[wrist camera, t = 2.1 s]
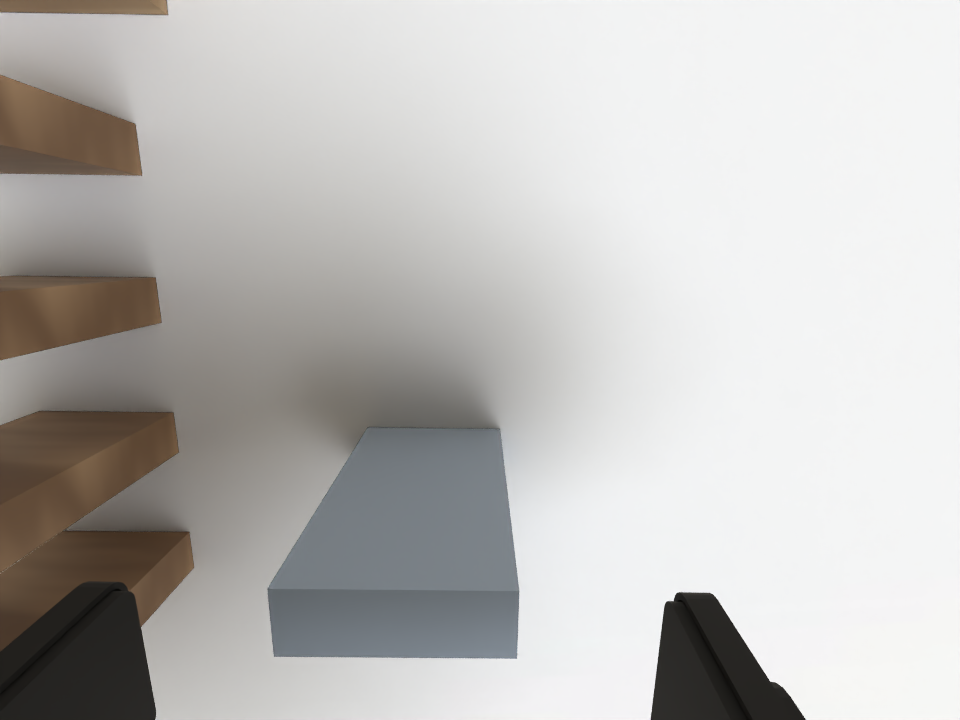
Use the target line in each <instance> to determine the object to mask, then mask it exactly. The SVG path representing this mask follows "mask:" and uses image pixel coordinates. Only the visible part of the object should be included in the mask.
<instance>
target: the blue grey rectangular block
mask: <svg viewBox="0 0 960 720" xmlns="http://www.w3.org/2000/svg"><path fill="white" fill-rule="evenodd" d="M267 590H268V600H269V610H270V621H271V631H272V642H273V652H274V657H391V658H510V659H517V640H518V611H519V585H518V577H517V568H516V560H515V552H514V543H513V535H512V526H511V518H510V509H509V501H508V493H507V484H506V476H505V467H504V459H503V451H502V442H501V434H500V429H470V428H380V427H368V428H367V429H366V431H365V433H364V434H363V436H362V437H361V439H360V441H359V442H358V444H357V445H356V447H355V449H354V450H353V452H352V454H351V455H350V457H349V458H348V460H347V462H346V463H345V465H344V466H343V468H342V470H341V471H340V473H339V474H338V476H337V478H336V479H335V481H334V482H333V484H332V486H331V487H330V489H329V491H328V492H327V494H326V495H325V497H324V499H323V500H322V502H321V503H320V505H319V507H318V508H317V510H316V511H315V513H314V515H313V516H312V518H311V519H310V521H309V523H308V524H307V526H306V527H305V529H304V531H303V532H302V534H301V536H300V537H299V539H298V540H297V542H296V544H295V545H294V547H293V548H292V550H291V552H290V553H289V555H288V556H287V558H286V560H285V561H284V563H283V564H282V566H281V568H280V569H279V571H278V573H277V574H276V576H275V577H274V579H273V581H272V582H271V584H270V585H269V587H268V589H267Z"/></svg>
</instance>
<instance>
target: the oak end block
mask: <svg viewBox="0 0 960 720" xmlns="http://www.w3.org/2000/svg"><path fill="white" fill-rule="evenodd" d="M0 12H40V13H104V14H167V15H168V13H167V4H166V0H0Z"/></svg>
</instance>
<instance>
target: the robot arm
mask: <svg viewBox="0 0 960 720" xmlns="http://www.w3.org/2000/svg"><path fill="white" fill-rule="evenodd" d="M155 718H156V708H155V703H154V697H153V692H152V686H151V681H150V675H149V670H148V664H147V659H146V653H145V648H144V642H143V637H142V631H141V626H140V621H139V615H138V610H137V604H136V599H135V596H134V594H133V593H132V592H130V591H128V588H127V586H126V585H125V584H124V583H122V582H100V581H88V582H84V583H82V584H80V585H79V586H77V587H76V588H75V589H73V590H72V591H71V592H70V593H69V594H68V595H66V596H65V597H64V598H63V599H62V600H60V601H59V602H58V603H57V604H56V605H55V606H53V607H52V608H51V609H50V610H49V611H48V612H46V613H45V614H44V615H43V616H42V617H40V618H39V619H38V620H37V621H36V622H35V623H33V624H32V625H31V626H30V627H29V628H27V629H26V630H25V631H24V632H23V633H22V634H20V635H19V636H18V637H17V638H16V639H14V640H13V641H12V642H11V643H10V644H9V645H7V646H6V647H5V648H4V649H3V650H2V651H0V720H155ZM651 720H806V719H805V718H804V716H803V715H802V713H801V712H800V710H799V709H798V707H797V706H796V704H795V703H794V701H793V700H792V698H791V697H790V696H789V695H788V693H787V692H786V691H785V690H784V688H783V687H781V686H780V685H778V684H777V683H776V682H770V681H769V679H768V678H767V676H766V674H765V673H764V671H763V670H762V668H761V667H760V665H759V664H758V662H757V660H756V659H755V657H754V656H753V654H752V653H751V651H750V650H749V648H748V647H747V645H746V643H745V642H744V640H743V639H742V637H741V636H740V634H739V633H738V631H737V629H736V628H735V626H734V625H733V623H732V622H731V620H730V619H729V617H728V615H727V614H726V612H725V611H724V609H723V608H722V606H721V605H720V603H719V601H718V600H717V599H716V597H715V596H714V595H713V594H711V593H683V592H679V593H677V594H676V595H675V598H674V601H668V602H666V604H665V607H664V614H663V623H662V631H661V639H660V647H659V656H658V664H657V672H656V680H655V689H654V697H653V705H652V713H651Z"/></svg>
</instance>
